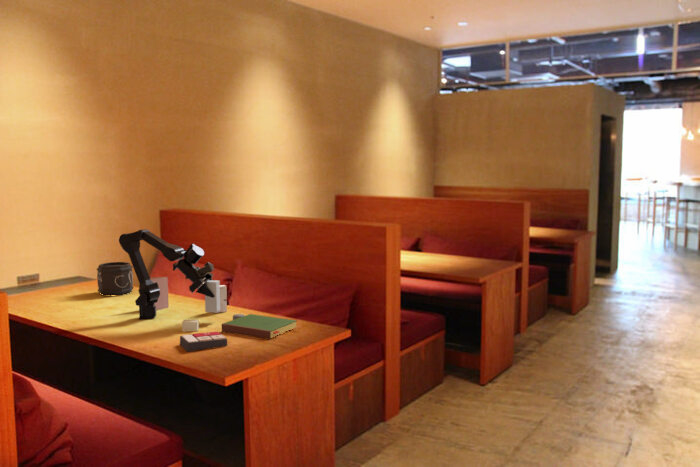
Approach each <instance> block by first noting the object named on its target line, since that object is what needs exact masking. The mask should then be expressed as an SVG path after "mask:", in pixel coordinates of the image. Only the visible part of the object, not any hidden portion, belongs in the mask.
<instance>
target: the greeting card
mask: <svg viewBox="0 0 700 467" xmlns="http://www.w3.org/2000/svg"><path fill="white" fill-rule="evenodd" d="M150 279H151V281H152V282H154V283H155V282H157V283H158V287H159V289H160V296H159V298H158V301H157V302H156V303H155V306H156V311H160V310H165V309H168V307H170V306H169V285H168V283H169V282H168V281H169V280H168V279H169V278H168V276H158V277H155V276H154V277H150ZM164 308H165V309H164ZM159 309H160V310H159Z"/></svg>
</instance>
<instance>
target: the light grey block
mask: <svg viewBox="0 0 700 467" xmlns="http://www.w3.org/2000/svg"><path fill="white" fill-rule="evenodd" d="M220 283H221V282H220V279H219V280H216V279H215V280H213V279H212V280H208V281H207V287H208V288H209V289H210V290H211V292H212V293H213V294H214V296H215V297H214V298H212V297H209V296H206V295H204V306H205V307H204V310H205V312H204V313H214V312H218V311H219V310H220V285H221V284H220Z"/></svg>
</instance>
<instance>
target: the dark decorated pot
mask: <svg viewBox="0 0 700 467" xmlns="http://www.w3.org/2000/svg"><path fill="white" fill-rule="evenodd" d="M133 269H134V268H133V265H132V264H131V263H130V262H128V261H127V262H125V261H114V262H113V261H112V262H110V261H109V262H105V263H101V264H99V265H98V267H97V268H96V271H97V274H96V275H97V276H96V277H97V278H96V280H97V288H98V289H97V292H98V293H99V294H100V293H101V294H103V295H121V296H124V295H123V294H126V295H128V294H127V293H129V294H131V293H132V292H133V290H134V287H135V286H133V285H134V277H133V276H134V275H133V274H134V273H133ZM130 292H131V293H130ZM103 295H102V296H103Z"/></svg>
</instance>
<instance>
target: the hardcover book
mask: <svg viewBox="0 0 700 467" xmlns="http://www.w3.org/2000/svg"><path fill="white" fill-rule="evenodd" d="M295 327H296V328H297V319H296V320H295V319H289V318H282V317H273V316H266V315H259V314H253V313H249V314H246V315H245V316H243V317H240V318H237V319H234V320H233V319H232V320H229V321H227V322H224V323H221V332H222V333H229V334H233V335H239V336H246V337H251V336H252V337H253V338H259V339H264V338H267V339H266V340H272V339H273V338H272V337H274V336H276V335H279V334H281V333H283V332H285V331H288V330H290V329H293V328H295ZM293 330H294V329H293ZM288 332H289V331H288ZM281 335H282V334H281ZM279 336H280V335H279ZM276 337H277V336H276ZM271 338H272V339H271ZM274 338H275V337H274Z"/></svg>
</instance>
